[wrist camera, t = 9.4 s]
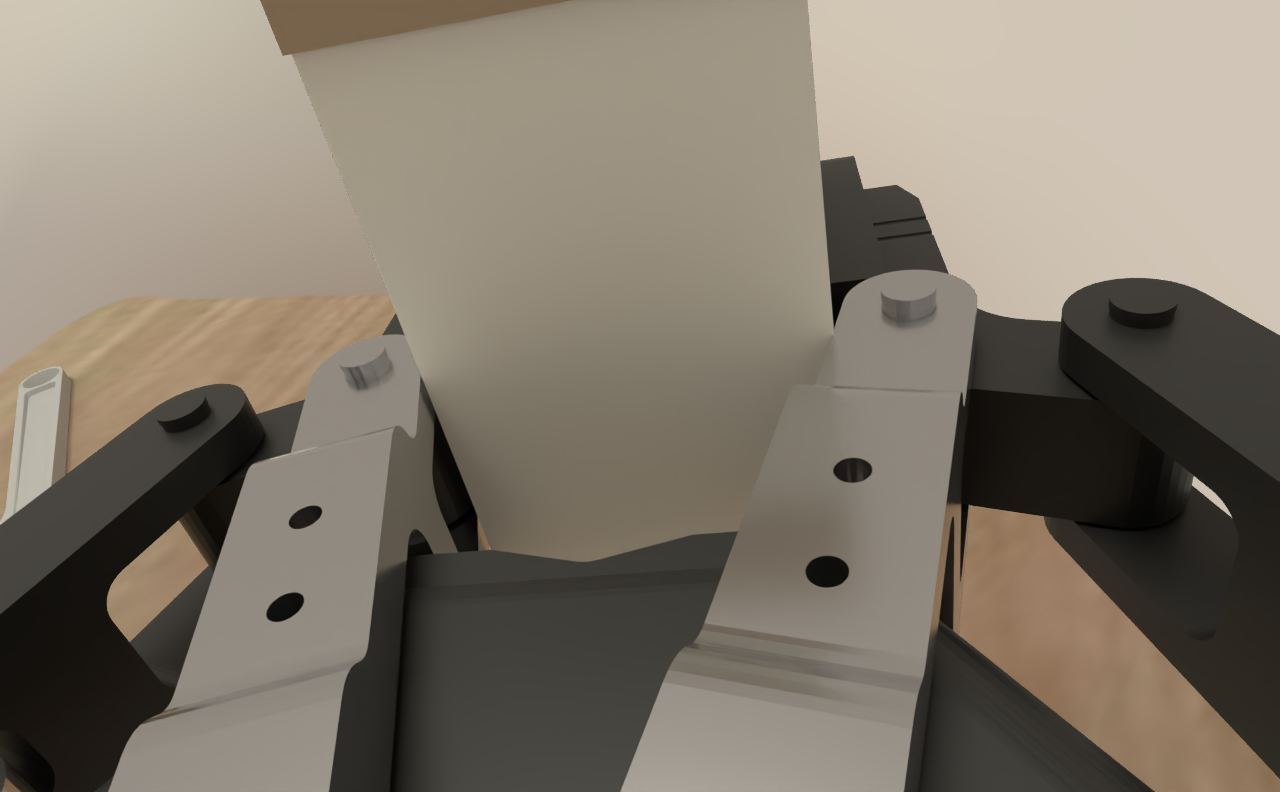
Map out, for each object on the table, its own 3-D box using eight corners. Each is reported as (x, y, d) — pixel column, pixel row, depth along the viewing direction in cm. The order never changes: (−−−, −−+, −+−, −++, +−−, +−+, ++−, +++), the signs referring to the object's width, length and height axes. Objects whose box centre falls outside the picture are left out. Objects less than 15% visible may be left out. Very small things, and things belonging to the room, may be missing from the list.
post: (614, 867, 14) (198, -149, 6) (638, 655, 17) (387, -184, 9) (880, 866, 13) (793, -294, 5) (852, 644, 17) (773, -277, 9)
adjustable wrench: (32, 397, 58) (16, 375, 57) (134, 360, 59) (121, 338, 58) (-45, 662, 38) (-72, 635, 37) (111, 596, 39) (90, 568, 38)
